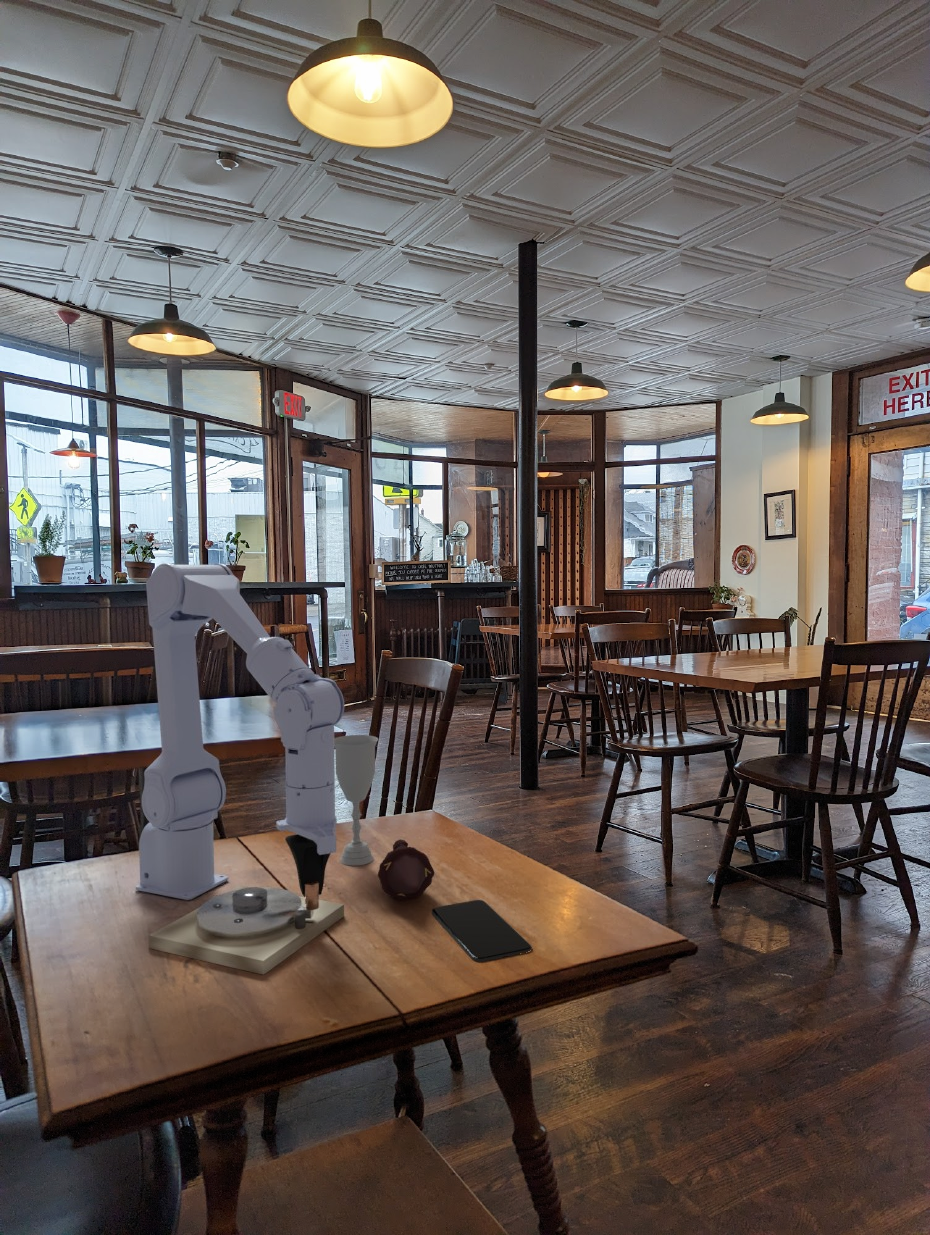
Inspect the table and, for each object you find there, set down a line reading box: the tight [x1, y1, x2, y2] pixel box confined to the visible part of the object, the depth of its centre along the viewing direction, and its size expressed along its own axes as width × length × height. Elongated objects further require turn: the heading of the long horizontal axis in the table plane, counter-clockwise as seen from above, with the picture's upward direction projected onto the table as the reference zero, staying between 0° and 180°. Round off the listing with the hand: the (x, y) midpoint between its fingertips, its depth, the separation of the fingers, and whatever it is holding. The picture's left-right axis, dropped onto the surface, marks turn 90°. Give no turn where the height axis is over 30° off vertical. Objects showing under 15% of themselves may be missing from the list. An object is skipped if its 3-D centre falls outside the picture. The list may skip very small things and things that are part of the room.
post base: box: [148, 885, 345, 976], centre depth 97 cm, size 16×16×3 cm
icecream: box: [377, 839, 435, 902], centre depth 107 cm, size 7×7×15 cm
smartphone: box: [431, 899, 533, 963], centre depth 97 cm, size 7×1×15 cm
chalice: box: [334, 734, 379, 867], centre depth 121 cm, size 7×7×18 cm
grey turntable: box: [197, 881, 320, 938], centre depth 97 cm, size 14×12×4 cm
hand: (311, 894), depth 97 cm, fingers closed, pressing on grey turntable
